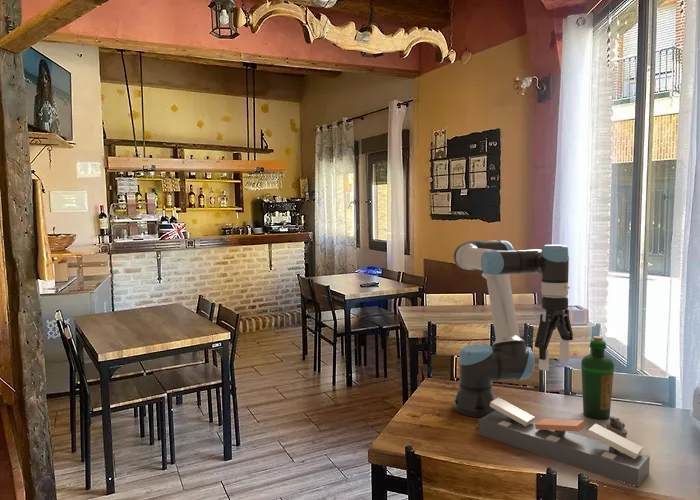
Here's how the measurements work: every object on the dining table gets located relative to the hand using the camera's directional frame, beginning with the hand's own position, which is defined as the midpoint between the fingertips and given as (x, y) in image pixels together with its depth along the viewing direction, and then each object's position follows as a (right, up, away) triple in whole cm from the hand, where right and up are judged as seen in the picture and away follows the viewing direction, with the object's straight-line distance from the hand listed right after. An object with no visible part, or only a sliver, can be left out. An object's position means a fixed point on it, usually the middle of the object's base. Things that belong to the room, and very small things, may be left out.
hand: (554, 365), depth 157 cm
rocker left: (-10, -17, +10) cm, 22 cm away
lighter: (+18, -26, -2) cm, 31 cm away
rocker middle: (+1, -18, -1) cm, 18 cm away
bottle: (+25, -23, +25) cm, 42 cm away
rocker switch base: (-1, -26, -1) cm, 26 cm away
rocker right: (+12, -18, -12) cm, 25 cm away
